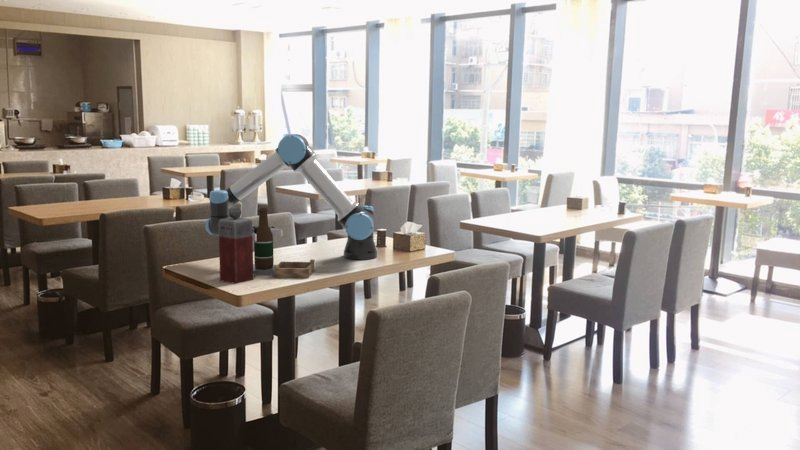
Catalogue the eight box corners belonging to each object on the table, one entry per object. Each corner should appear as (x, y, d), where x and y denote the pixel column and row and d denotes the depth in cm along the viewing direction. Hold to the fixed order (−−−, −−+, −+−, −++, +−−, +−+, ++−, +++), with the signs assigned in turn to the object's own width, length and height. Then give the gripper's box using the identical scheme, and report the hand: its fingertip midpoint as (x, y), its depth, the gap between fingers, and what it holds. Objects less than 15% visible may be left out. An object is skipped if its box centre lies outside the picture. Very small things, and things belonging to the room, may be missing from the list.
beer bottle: (277, 266, 277) (276, 207, 273) (267, 270, 270) (266, 210, 266) (260, 264, 279) (259, 206, 276) (250, 268, 272) (249, 208, 269)
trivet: (282, 268, 281) (282, 264, 280) (276, 274, 269) (276, 271, 268) (253, 267, 281) (253, 264, 281) (245, 274, 269) (245, 270, 269)
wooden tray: (314, 270, 277) (314, 259, 276) (309, 278, 263) (309, 266, 263) (280, 269, 277) (280, 259, 277) (273, 277, 264) (273, 266, 263)
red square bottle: (233, 275, 267) (231, 204, 263) (253, 279, 261) (252, 206, 257) (215, 279, 260) (213, 206, 255) (236, 283, 253) (234, 208, 249)
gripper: (257, 234, 294) (292, 240, 281) (210, 242, 274) (244, 249, 261) (257, 217, 293) (292, 222, 280) (209, 224, 273) (244, 229, 260)
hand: (269, 235), depth 271 cm, fingers open, 13 cm apart
